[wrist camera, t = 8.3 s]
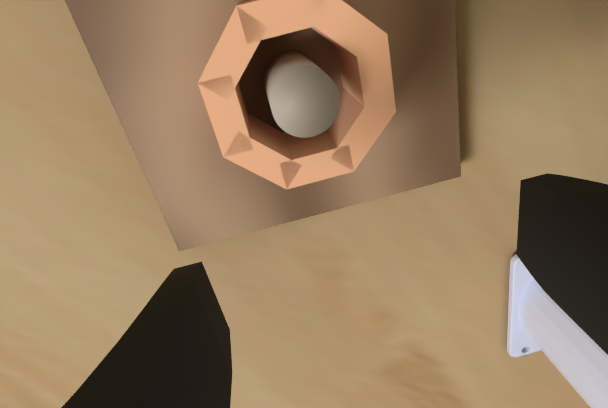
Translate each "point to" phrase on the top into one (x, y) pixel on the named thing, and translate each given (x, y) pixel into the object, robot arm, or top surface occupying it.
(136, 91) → the peg plate
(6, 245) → the top surface
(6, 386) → the top surface
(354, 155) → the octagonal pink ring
